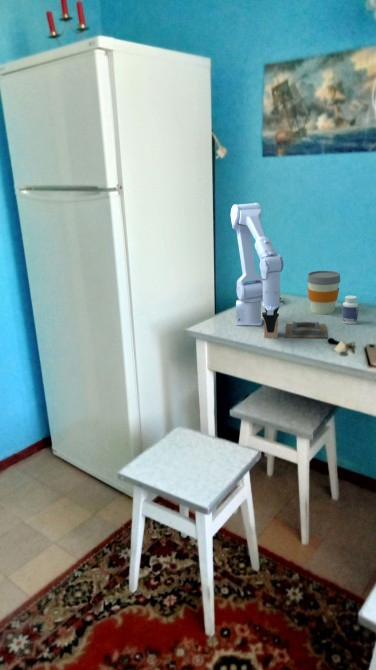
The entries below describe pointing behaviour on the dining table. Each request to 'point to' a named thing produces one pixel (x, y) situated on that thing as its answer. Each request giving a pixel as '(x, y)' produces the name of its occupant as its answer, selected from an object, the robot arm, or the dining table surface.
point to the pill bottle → (350, 310)
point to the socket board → (306, 330)
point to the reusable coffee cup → (323, 291)
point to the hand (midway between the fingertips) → (271, 328)
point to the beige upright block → (271, 335)
